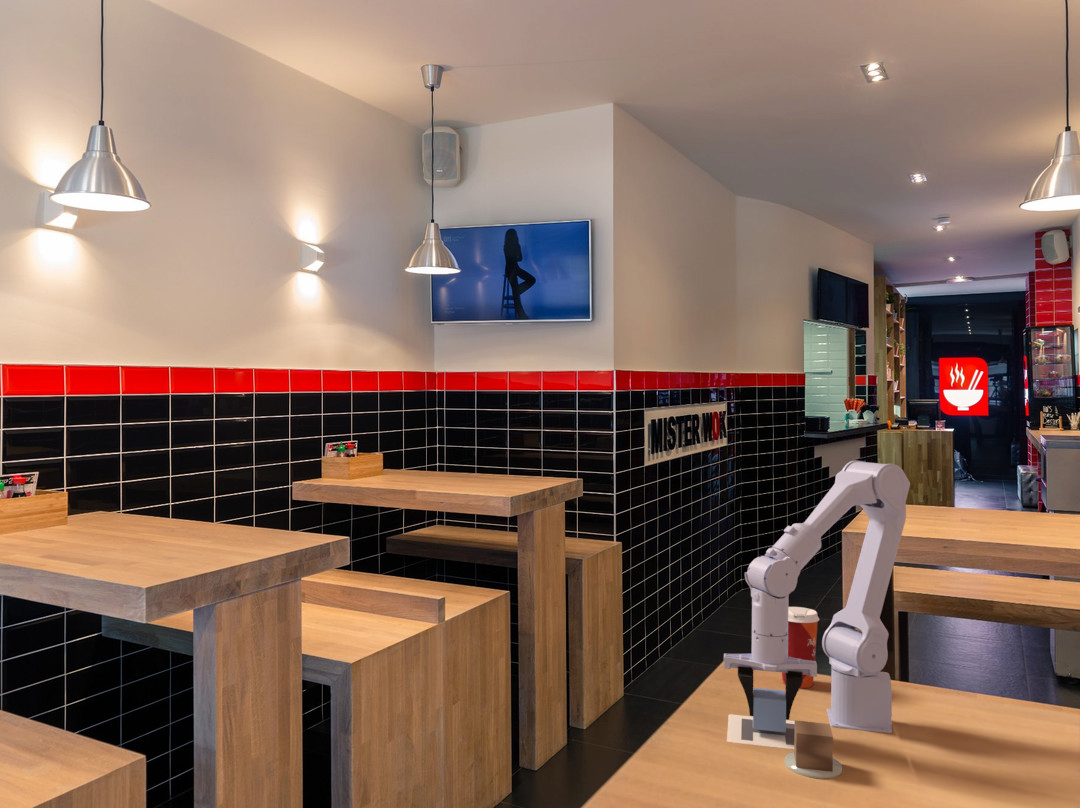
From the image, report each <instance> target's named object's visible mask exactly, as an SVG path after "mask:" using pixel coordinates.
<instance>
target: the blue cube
mask: <svg viewBox="0 0 1080 808" xmlns="http://www.w3.org/2000/svg"><path fill="white" fill-rule="evenodd" d="M785 693H786V690H780V689H769V688H760V687H753V700H754V707H753V716H752V717H753V729H758V730H767V731H777V732H786V696H785Z"/></svg>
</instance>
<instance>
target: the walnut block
mask: <svg viewBox="0 0 1080 808" xmlns="http://www.w3.org/2000/svg"><path fill="white" fill-rule="evenodd" d="M794 721H795V735H794V749H793V750H794V755H795V763H796V768H804V769H812V770H821V771H830V772H833V758H834V736H833V731H832V727H831V726H830V723H822V722H816V721H815V722H812V721H803V720H794Z"/></svg>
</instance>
